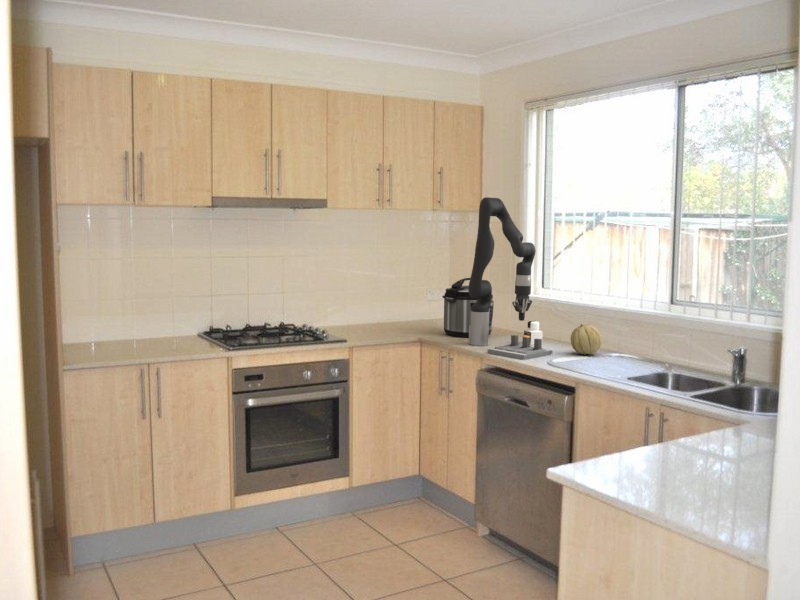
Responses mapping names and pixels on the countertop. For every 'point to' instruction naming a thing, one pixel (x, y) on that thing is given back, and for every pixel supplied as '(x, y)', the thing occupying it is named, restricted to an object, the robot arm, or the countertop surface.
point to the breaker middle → (525, 341)
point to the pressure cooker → (460, 310)
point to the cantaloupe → (586, 339)
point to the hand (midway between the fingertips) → (521, 320)
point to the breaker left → (514, 340)
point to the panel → (518, 352)
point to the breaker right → (537, 344)
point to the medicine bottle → (533, 331)
